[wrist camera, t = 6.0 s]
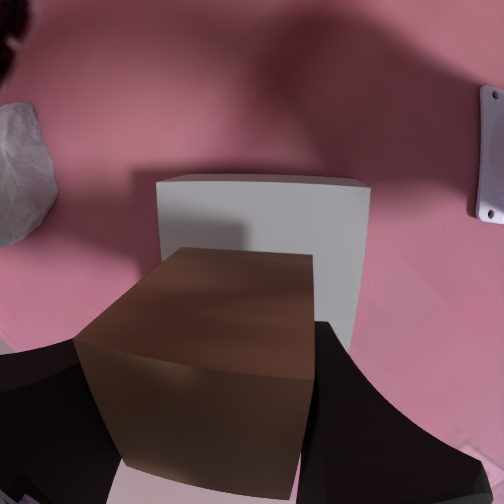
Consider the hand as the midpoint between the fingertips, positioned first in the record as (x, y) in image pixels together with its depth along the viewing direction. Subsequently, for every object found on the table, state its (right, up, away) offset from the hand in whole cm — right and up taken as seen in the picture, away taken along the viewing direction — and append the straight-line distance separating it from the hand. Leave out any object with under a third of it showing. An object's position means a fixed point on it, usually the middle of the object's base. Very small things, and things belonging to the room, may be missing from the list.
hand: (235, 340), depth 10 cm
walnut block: (0, +1, +1) cm, 2 cm away
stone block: (-19, +8, +10) cm, 23 cm away
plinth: (+1, +3, +8) cm, 8 cm away
